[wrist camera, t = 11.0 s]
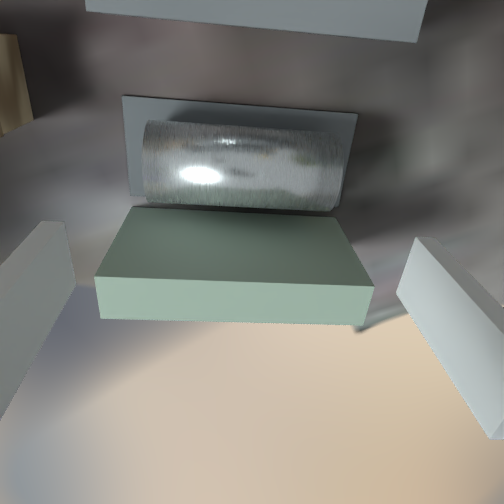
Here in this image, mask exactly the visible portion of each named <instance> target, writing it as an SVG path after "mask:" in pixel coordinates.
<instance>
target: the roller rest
mask: <svg viewBox="0 0 504 504" xmlns="http://www.w3.org/2000/svg"><path fill="white" fill-rule="evenodd" d="M33 120H34V119H33V114H32V109H31V104H30V99H29V94H28V89H27V84H26V79H25V74H24V69H23V64H22V59H21V54H20V49H19V44H18V39H17V35H14V34H3V33H0V138H1V137H3V136H4V135H3V134H5V133H7V132H9V131H11V130H14V129H16V128H18V127H20V126H22V125H24V124H26V123H29V122H31V121H33Z"/></svg>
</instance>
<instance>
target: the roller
mask: <svg viewBox="0 0 504 504" xmlns="http://www.w3.org/2000/svg"><path fill="white" fill-rule="evenodd" d="M342 175H343V145H342V141H341V138H340V136H339V134H338V133H330V132H316V131H302V130H288V129H274V128H260V127H246V126H232V125H218V124H204V123H190V122H176V121H162V120H148V121H147V123H146V126H145V130H144V135H143V145H142V176H143V186H144V192H145V196H146V199H147V201H148V202H155V203H174V204H193V205H213V206H232V207H251V208H270V209H289V210H308V211H327V212H328V211H331V210H332V208H333V207H334V205H335V203H336V201H337V198H338V195H339V191H340V187H341V182H342Z"/></svg>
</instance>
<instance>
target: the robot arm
mask: <svg viewBox="0 0 504 504" xmlns="http://www.w3.org/2000/svg"><path fill="white" fill-rule="evenodd" d="M75 286H76V280H75V275H74V270H73V265H72V260H71V254H70V249H69V244H68V239H67V234H66V228H65V223H64V222H61V221H41V222H40V223H39V224H38V225H37V226H36V227H35V228H34V229H33V231H32V232H31V233H30V234H29V235H28V236H27V237H26V238H25V239H24V240H23V241H22V243H21V244H20V245H19V246H18V247H17V248H16V249H15V250H14V251H13V252H12V254H11V255H10V256H9V257H8V258H7V259H6V260H5V261H4V262H3V263H2V264H1V266H0V420H1V418H2V416H3V415H4V413H5V411H6V409H7V407H8V406H9V404H10V402H11V400H12V398H13V397H14V395H15V393H16V391H17V390H18V388H19V386H20V384H21V382H22V381H23V379H24V377H25V375H26V374H27V371H28V370H29V368H30V366H31V365H32V363H33V361H34V359H35V357H36V356H37V354H38V352H39V350H40V348H41V347H42V345H43V343H44V341H45V339H46V338H47V336H48V334H49V332H50V331H51V329H52V327H53V325H54V323H55V322H56V320H57V318H58V316H59V315H60V313H61V311H62V309H63V307H64V306H65V304H66V302H67V300H68V298H69V297H70V295H71V293H72V291H73V289H74V288H75ZM396 294H397V296H398V297H399V299H400V300H401V302H402V303H403V305H404V307H405V308H406V310H407V311H408V313H409V314H410V316H411V317H412V319H413V321H414V322H415V324H416V325H417V327H418V328H419V330H420V332H421V333H422V335H423V336H424V338H425V339H426V341H427V343H428V344H429V346H430V347H431V349H432V350H433V352H434V353H435V355H436V357H437V358H438V360H439V361H440V363H441V364H442V366H443V367H444V369H445V371H446V372H447V374H448V375H449V377H450V378H451V380H452V382H453V383H454V385H455V386H456V388H457V389H458V391H459V393H460V394H461V396H462V397H463V399H464V400H465V402H466V404H467V405H468V407H469V408H470V410H471V411H472V413H473V414H474V416H475V418H476V419H477V421H478V422H479V424H480V425H481V427H482V429H483V430H484V432H485V433H486V435H487V436H488V438H489V439H490V440H500V439H504V307H502V306H501V305H500V304H499V303H498V302H497V301H496V300H495V299H494V298H493V297H492V296H491V295H490V294H489V293H488V292H487V291H486V290H485V289H484V288H483V287H482V286H481V285H480V284H479V283H478V282H477V280H476V279H475V278H474V277H473V276H472V275H471V274H470V273H469V272H468V271H467V270H466V269H465V268H464V267H463V266H462V265H461V264H460V263H459V262H458V261H457V260H456V259H455V258H454V257H453V256H452V255H451V254H450V253H449V252H448V251H447V250H446V249H445V248H444V247H443V246H442V245H441V244H440V243H439V242H438V241H437V240H436V239H435V238H433V237H415V240H414V243H413V246H412V249H411V252H410V255H409V257H408V260H407V263H406V266H405V269H404V272H403V275H402V277H401V280H400V283H399V286H398V289H397V292H396Z"/></svg>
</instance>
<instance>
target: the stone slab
mask: <svg viewBox="0 0 504 504" xmlns="http://www.w3.org/2000/svg"><path fill="white" fill-rule="evenodd" d="M427 1H428V0H85V4H86V11H90V12H98V13H106V14H117V15H127V16H138V17H148V18H158V19H169V20H179V21H189V22H200V23H210V24H221V25H231V26H241V27H252V28H262V29H272V30H283V31H293V32H304V33H314V34H324V35H335V36H345V37H355V38H366V39H376V40H387V41H398V42H412V43H417V39H418V35H419V31H420V28H421V24H422V20H423V16H424V12H425V9H426V5H427Z"/></svg>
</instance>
